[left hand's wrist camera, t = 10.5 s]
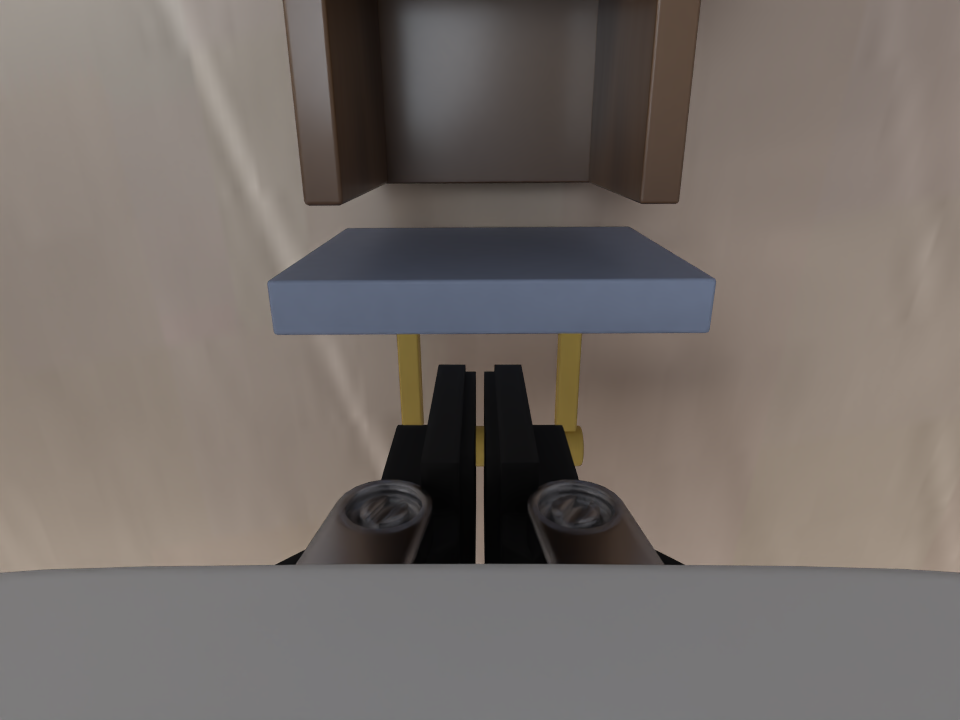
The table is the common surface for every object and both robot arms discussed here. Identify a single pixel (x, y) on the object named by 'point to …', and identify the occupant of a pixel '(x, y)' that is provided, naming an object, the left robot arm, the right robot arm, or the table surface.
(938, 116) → the table surface
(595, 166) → the drawer
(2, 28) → the table surface
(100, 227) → the table surface
